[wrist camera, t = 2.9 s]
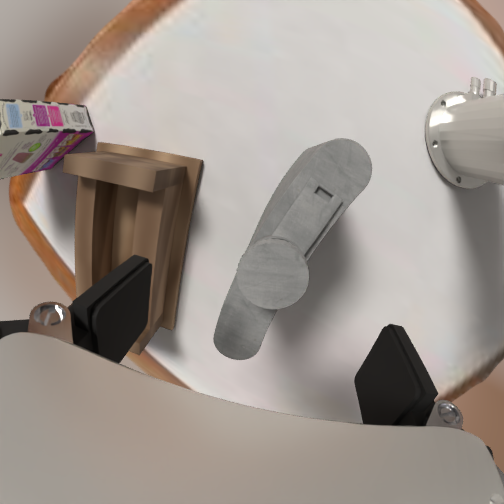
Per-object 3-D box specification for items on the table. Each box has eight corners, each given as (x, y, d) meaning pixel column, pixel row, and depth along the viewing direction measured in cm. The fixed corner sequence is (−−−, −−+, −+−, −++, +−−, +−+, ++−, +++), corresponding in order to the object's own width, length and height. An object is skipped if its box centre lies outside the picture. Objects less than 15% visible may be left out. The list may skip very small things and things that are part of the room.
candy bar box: (86, 103, 31) (-4, 96, 15) (95, 131, 32) (2, 134, 17) (41, 144, 33) (-39, 156, 18) (50, 170, 35) (-33, 190, 19)
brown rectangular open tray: (92, 295, 41) (59, 322, 32) (102, 142, 32) (57, 144, 24) (174, 326, 40) (150, 365, 32) (202, 160, 32) (173, 163, 23)
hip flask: (266, 270, 35) (241, 391, 17) (237, 255, 35) (183, 364, 16) (333, 156, 30) (398, 160, 11) (301, 138, 30) (322, 111, 11)
